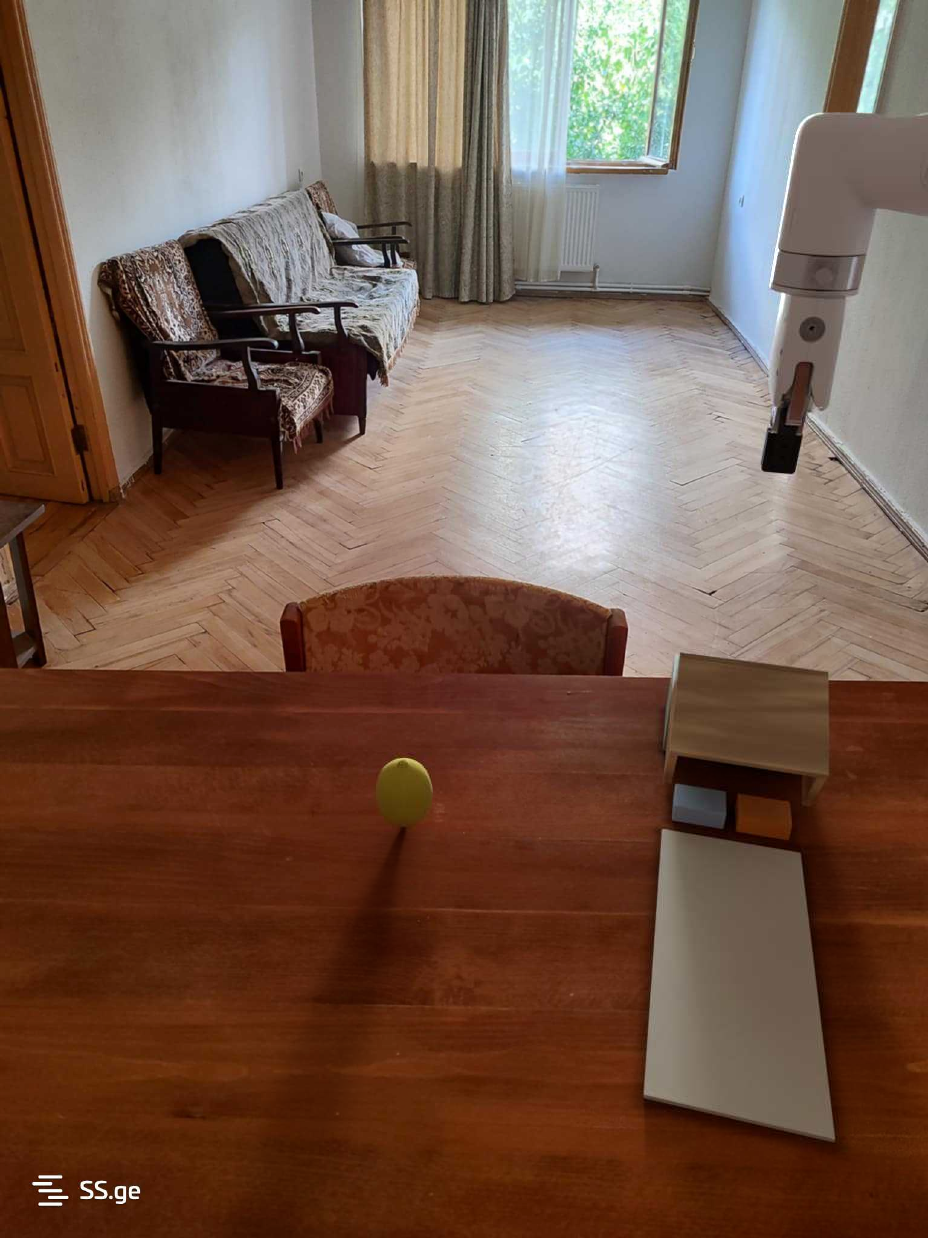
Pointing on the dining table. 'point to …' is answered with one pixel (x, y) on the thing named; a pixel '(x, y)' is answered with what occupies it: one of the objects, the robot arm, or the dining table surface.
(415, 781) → the lemon
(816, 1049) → the mat
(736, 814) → the packet orange
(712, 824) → the packet blue
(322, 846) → the dining table surface
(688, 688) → the wooden open box
